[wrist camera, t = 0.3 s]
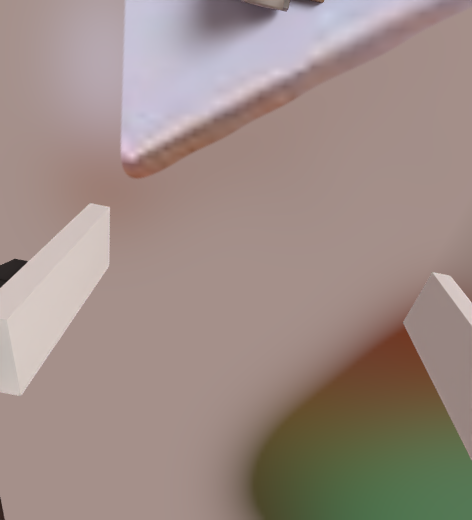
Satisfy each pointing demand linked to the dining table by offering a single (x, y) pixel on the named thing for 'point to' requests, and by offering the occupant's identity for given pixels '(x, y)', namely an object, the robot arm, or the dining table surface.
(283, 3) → the mint panel frame
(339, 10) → the dining table surface
